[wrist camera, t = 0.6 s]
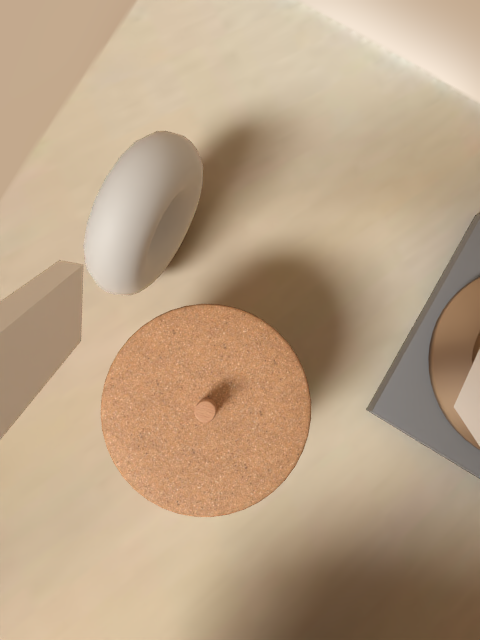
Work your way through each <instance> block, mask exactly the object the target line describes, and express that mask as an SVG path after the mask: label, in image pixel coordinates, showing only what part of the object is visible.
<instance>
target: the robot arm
mask: <svg viewBox="0 0 480 640" xmlns="http://www.w3.org/2000/svg"><path fill="white" fill-rule="evenodd" d="M82 294H83V264H78V263H72V262H67V261H61V260H59V261H58V262H56V263H55V264H53V265H52V266H50V267H49V268H48V269H46V270H45V271H43V272H42V273H40V274H39V275H38V276H36V277H35V278H33V279H32V280H30V281H29V282H28V283H26V284H25V285H23V286H22V287H20V288H19V289H18V290H16V291H15V292H13V293H12V294H10V295H9V296H8V297H6V298H5V299H3V300H2V301H0V439H1V438H2V437H3V436H4V435H5V433H6V432H7V431H8V430H9V428H10V427H11V426H12V425H13V424H14V422H15V421H16V420H17V419H18V417H19V416H20V415H21V414H22V413H23V411H24V410H25V409H26V408H27V406H28V405H29V404H30V403H31V401H32V400H33V399H34V398H35V397H36V395H37V394H38V393H39V392H40V390H41V389H42V388H43V387H44V386H45V384H46V383H47V382H48V381H49V379H50V378H51V377H52V376H53V375H54V373H55V372H56V371H57V370H58V368H59V367H60V366H61V365H62V363H63V362H64V361H65V360H66V359H67V357H68V356H69V355H70V354H71V352H72V351H73V350H74V349H75V348H76V346H77V345H78V344H79V343H80V341H81V324H82ZM454 408H455V410H456V411H457V413H458V414H459V416H460V417H461V419H462V420H463V422H464V423H465V425H466V426H467V428H468V429H469V431H470V432H471V434H472V435H473V437H474V439H475V440H476V442H477V443H478V445H479V446H480V349H479V351H478V353H477V356H476V358H475V360H474V362H473V365H472V367H471V369H470V371H469V374H468V376H467V378H466V380H465V382H464V385H463V387H462V389H461V391H460V394H459V396H458V398H457V400H456V402H455V405H454Z"/></svg>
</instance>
